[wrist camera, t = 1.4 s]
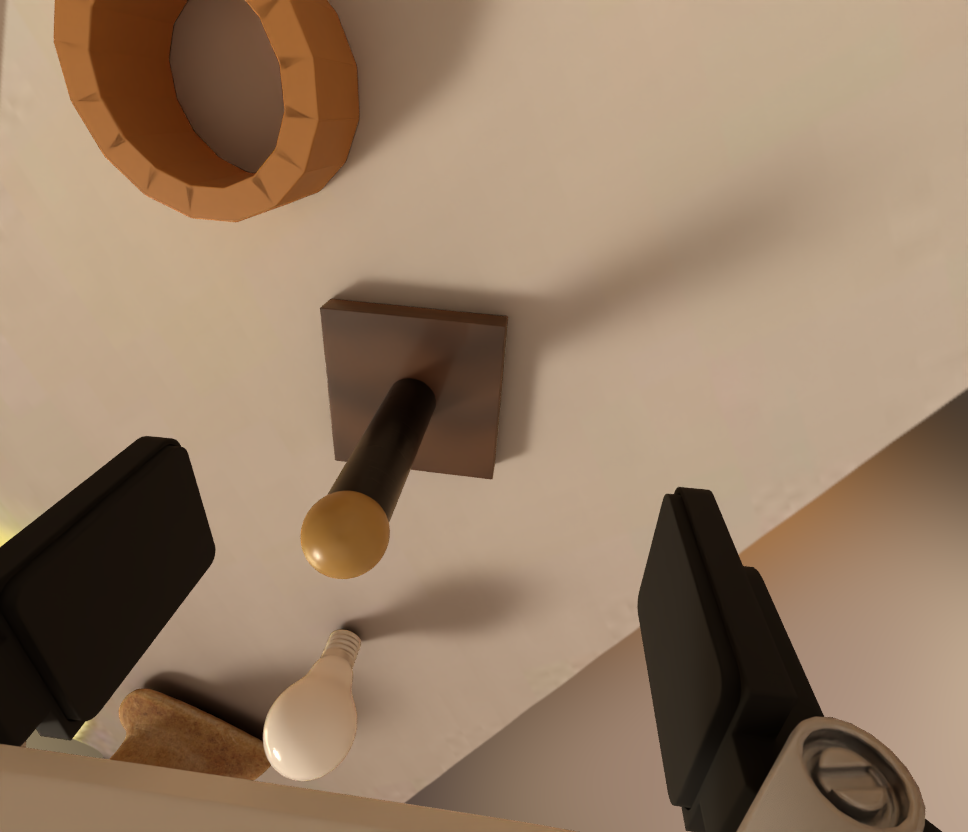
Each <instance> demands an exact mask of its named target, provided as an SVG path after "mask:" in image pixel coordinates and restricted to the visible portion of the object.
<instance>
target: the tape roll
mask: <svg viewBox="0 0 968 832" xmlns="http://www.w3.org/2000/svg"><path fill="white" fill-rule="evenodd" d="M187 1H188V0H55V15H54V44H55V47H56V51H57V54H58V58H59V61H60V65H61V68H62V72H63V75H64V79H65V82H66V86H67V89H68V92H69V96H70V99H71V102H72V104H73V105H74V107H75V109H76V110H77V112H78V114H79V115H80V117H81V118H82V120H83V122H84V123H85V125H86V127H87V128H88V130H89V132H90V133H91V135H92V137H93V138H94V140H95V142H96V143H97V145H98V147H99V148H100V150H101V152H102V153H103V154H104V156H105V157H106V158H107V159H108V160H109V161H110V162H111V163H112V164H113V165H114V166H115V167H116V168H117V169H118V170H119V171H120V172H121V173H123V174H124V175H125V176H126V177H127V178H128V179H129V180H130V181H131V182H132V183H133V184H134V185H135V186H136V187H137V188H138V189H139V190H140V191H141V192H142V193H143V194H145V195H146V196H148V197H150V198H152V199H154V200H156V201H158V202H160V203H162V204H164V205H166V206H168V207H170V208H172V209H174V210H176V211H178V212H180V213H182V214H184V215H186V216H188V217H190V218H195V219H206V220H217V221H228V222H239V221H242V220H244V219H247V218H250V217H253V216H256V215H258V214H261V213H264V212H267V211H269V210H272V209H275V208H278V207H280V206H283V205H286V204H289V203H291V202H294V201H296V200H299V199H301V198H304V197H307V196H309V195H312V194H314V193H317V192H319V191H321V189H322V188H323V187H324V186H325V185H326V184H327V183H328V181H329V180H330V179H331V178H332V177H333V176H334V175H335V174H336V172H337V171H338V170H339V169H340V168H341V167H342V166H343V165H344V163H345V162H346V160H347V156H348V153H349V150H350V147H351V144H352V140H353V137H354V134H355V131H356V128H357V124H358V121H359V99H358V79H357V66H356V62H355V60H354V57H353V55H352V52H351V49H350V47H349V44H348V41H347V39H346V36H345V33H344V31H343V28H342V26H341V23H340V20H339V18H338V15H337V13H336V11H335V10H334V9H333V7H332V6H331V5H330V4H329V2H328V1H327V0H245V1H246V2H247V3H248V5H249V6H250V7H251V8H252V9H253V10H254V12H255V13H256V14H257V15H258V16H259V18H260V20H261V23H262V25H263V27H264V30H265V32H266V34H267V36H268V39H269V41H270V43H271V46H272V48H273V50H274V52H275V55H276V57H277V59H278V62H279V65H280V74H281V83H282V92H283V101H284V110H285V111H284V115H283V119H282V123H281V127H280V132H279V136H278V140H277V144H276V148H275V150H274V151H273V152H272V153H271V155H270V156H269V157H268V158H267V160H266V161H265V162H264V163H263V165H262V166H261V167H260V168H259V170H258V171H257V172H256V173H249V172H246V171H244V170H242V169H240V168H238V167H236V166H234V165H232V164H230V163H228V162H226V161H225V160H223V159H221V158H219V157H218V156H217V155H216V154H215V153H214V152H213V151H212V150H211V149H210V148H209V147H208V146H207V145H206V143H205V142H204V141H203V140H202V139H201V138H200V137H199V136H198V135H197V134H196V133H195V132H194V131H193V129H192V127H191V125H190V123H189V121H188V119H187V117H186V116H185V114H184V112H183V110H182V108H181V106H180V104H179V102H178V100H177V98H176V93H175V88H174V83H173V78H172V73H171V68H170V63H169V55H170V47H171V40H172V32H173V24H174V22H175V21H176V19H177V18H178V16H179V14H180V13H181V11H182V9H183V8H184V6H185V4H186V3H187Z"/></svg>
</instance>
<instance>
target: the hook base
mask: <svg viewBox="0 0 968 832" xmlns="http://www.w3.org/2000/svg"><path fill="white" fill-rule="evenodd" d="M320 312H321V322H322V332H323V342H324V352H325V363H326V373H327V383H328V393H329V403H330V413H331V424H332V434H333V444H334V454H335V460H337V461H345V462H347V461H348V459H349V457H350V456H351V454H352V452H353V451H354V449H355V447H356V446H357V444H358V442H359V441H360V439H361V437H362V435H363V434H364V432H365V430H366V429H367V427H368V425H369V424H370V422H371V420H372V419H373V417H374V415H375V413H376V412H377V410H378V408H379V407H380V405H381V403H382V402H383V400H384V398H385V397H386V395H387V393H388V391H389V390H390V388H391V387H392V385H393V384H394V383H396V382H397V381H399V380H402V379H407V378H412V379H417V380H420V381H422V382H424V383H425V384H426V385H428V386H429V387H430V388H431V390H432V391H433V393H434V395H435V399H436V407H435V410H434V412H433V415H432V417H431V420H430V422H429V425H428V427H427V430H426V432H425V435H424V437H423V440H422V442H421V445H420V447H419V450H418V452H417V454H416V457H415V459H414V462H413V464H412V467H411V470H419V471H427V472H435V473H444V474H452V475H460V476H468V477H476V478H485V479H493V473H494V467H495V459H496V447H497V436H498V425H499V413H500V402H501V391H502V380H503V368H504V357H505V346H506V334H507V323H508V317H507V316H498V315H488V314H478V313H468V312H458V311H448V310H438V309H428V308H418V307H408V306H398V305H388V304H378V303H368V302H358V301H348V300H338V299H330V300H329V301H328V302H326V303H325V304H324V305H323V306H322V307H321V308H320Z"/></svg>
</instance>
